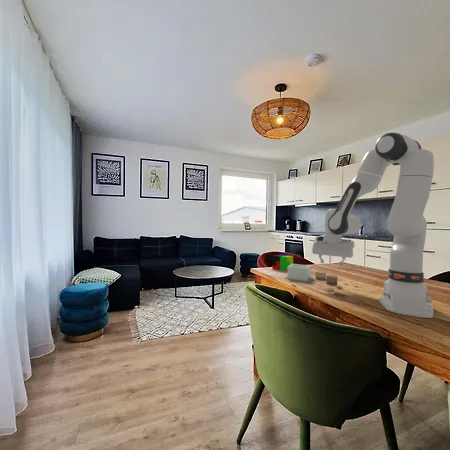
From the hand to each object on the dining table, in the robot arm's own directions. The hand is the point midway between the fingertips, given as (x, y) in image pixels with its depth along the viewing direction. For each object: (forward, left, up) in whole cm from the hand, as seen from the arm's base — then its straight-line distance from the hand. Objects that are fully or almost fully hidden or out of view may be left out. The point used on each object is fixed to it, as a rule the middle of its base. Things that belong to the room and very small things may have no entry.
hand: (331, 264), depth 135 cm
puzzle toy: (+26, +34, -12) cm, 45 cm away
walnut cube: (0, -1, -11) cm, 11 cm away
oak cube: (+9, +6, -11) cm, 16 cm away
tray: (+3, +17, -11) cm, 21 cm away
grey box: (+3, +17, -10) cm, 21 cm away
